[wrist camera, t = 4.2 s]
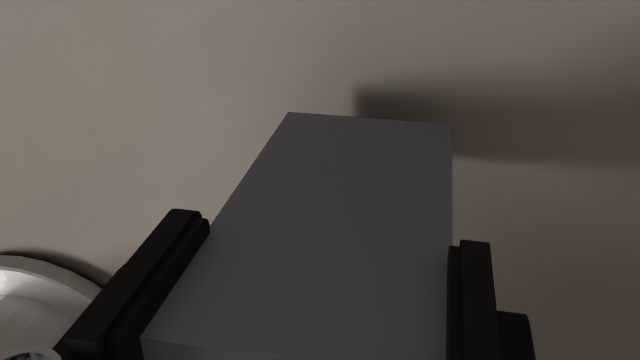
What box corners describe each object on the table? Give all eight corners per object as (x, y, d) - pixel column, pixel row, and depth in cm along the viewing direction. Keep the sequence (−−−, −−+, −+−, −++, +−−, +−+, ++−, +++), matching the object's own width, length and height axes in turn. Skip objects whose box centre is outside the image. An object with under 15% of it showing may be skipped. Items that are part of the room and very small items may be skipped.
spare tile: (444, 183, 18) (439, 473, 9) (290, 169, 19) (151, 421, 10) (452, 123, 17) (453, 384, 8) (288, 112, 18) (134, 336, 9)
